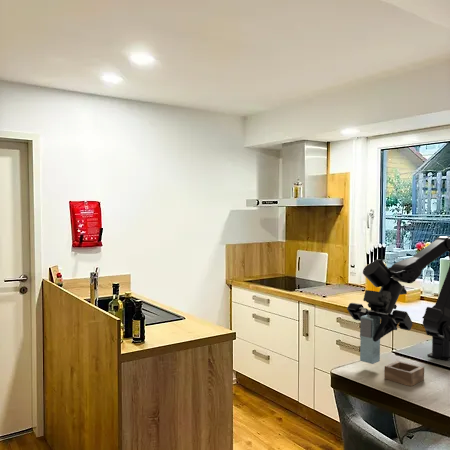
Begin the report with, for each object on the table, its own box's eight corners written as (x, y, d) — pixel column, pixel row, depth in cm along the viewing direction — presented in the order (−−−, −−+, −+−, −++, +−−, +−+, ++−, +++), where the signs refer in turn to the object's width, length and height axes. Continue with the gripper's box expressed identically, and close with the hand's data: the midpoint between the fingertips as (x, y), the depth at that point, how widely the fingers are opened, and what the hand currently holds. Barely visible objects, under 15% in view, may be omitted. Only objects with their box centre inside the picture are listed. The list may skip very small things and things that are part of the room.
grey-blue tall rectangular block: (367, 358, 138) (368, 314, 138) (379, 361, 136) (380, 316, 135) (359, 361, 135) (359, 316, 135) (371, 364, 133) (372, 319, 132)
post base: (397, 372, 133) (398, 360, 133) (424, 379, 128) (424, 367, 128) (384, 378, 128) (384, 366, 128) (410, 386, 123) (411, 373, 123)
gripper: (350, 276, 145) (329, 317, 138) (408, 283, 131) (388, 328, 124) (363, 299, 150) (344, 338, 143) (420, 307, 136) (401, 352, 129)
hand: (367, 339), depth 135 cm, fingers closed on grey-blue tall rectangular block, 4 cm apart
